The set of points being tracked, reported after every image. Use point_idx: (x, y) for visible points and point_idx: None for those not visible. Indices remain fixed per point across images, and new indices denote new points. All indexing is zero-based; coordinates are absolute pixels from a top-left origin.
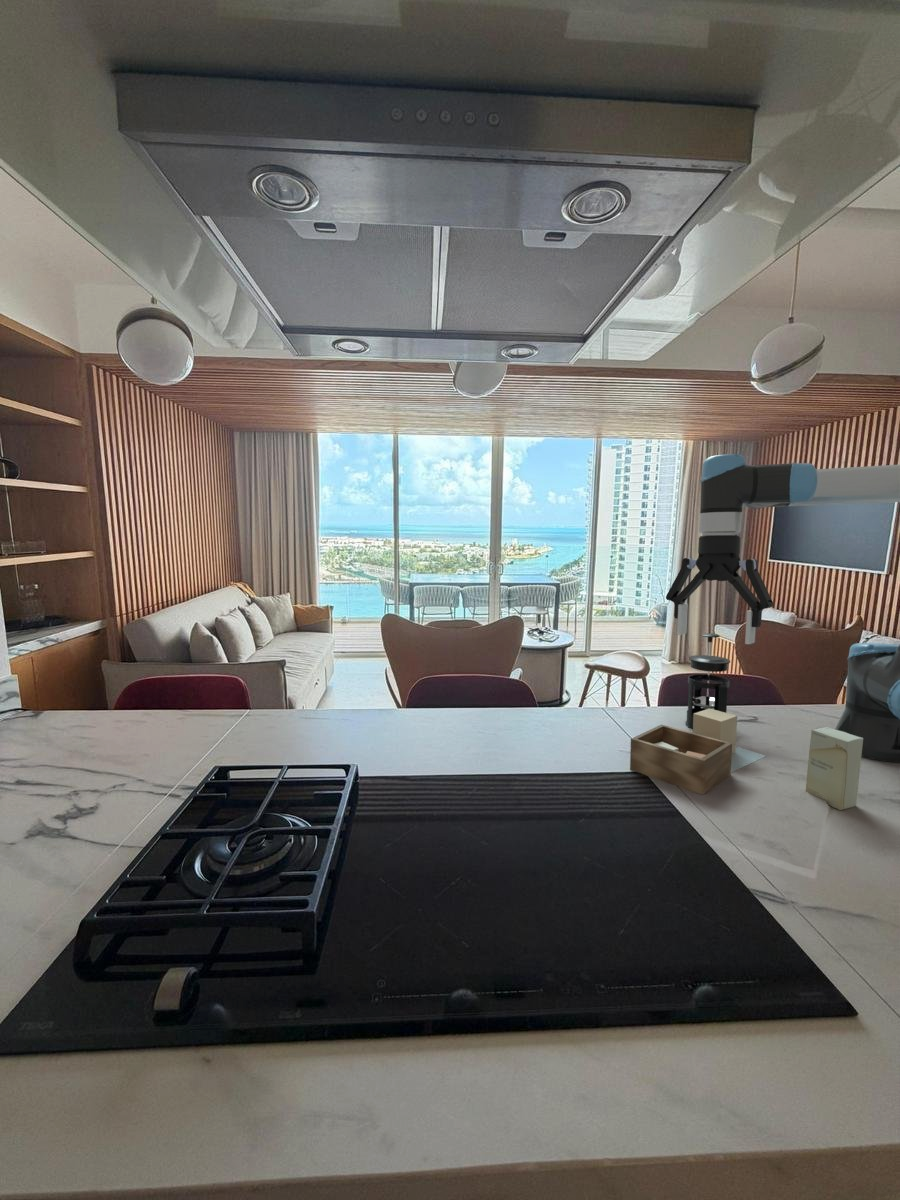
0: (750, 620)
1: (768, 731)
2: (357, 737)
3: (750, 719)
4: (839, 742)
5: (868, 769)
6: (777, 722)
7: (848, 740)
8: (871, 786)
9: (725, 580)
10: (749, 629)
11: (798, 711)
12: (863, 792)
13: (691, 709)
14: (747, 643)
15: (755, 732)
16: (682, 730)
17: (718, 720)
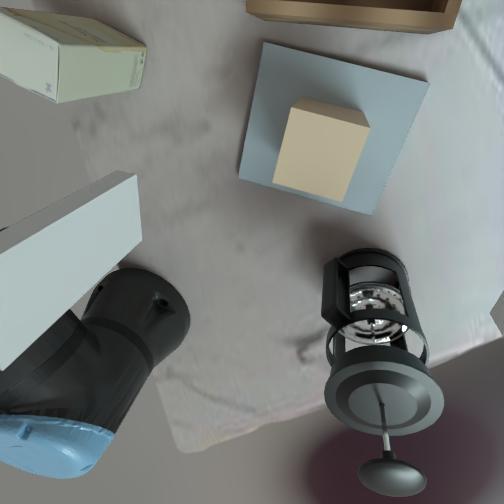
0: (9, 229)
1: (269, 308)
2: None
3: (306, 348)
4: (4, 12)
5: None
6: (268, 351)
7: None
8: (103, 163)
9: None
10: (62, 200)
11: (256, 404)
12: (101, 130)
13: (399, 280)
14: (123, 173)
15: (285, 294)
16: (381, 18)
17: (299, 111)
